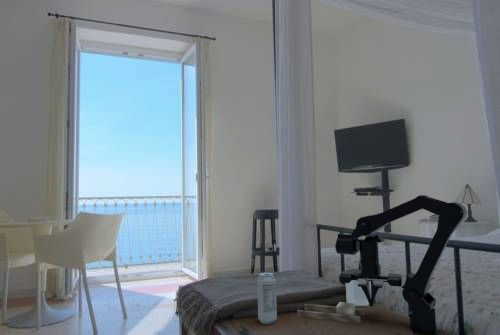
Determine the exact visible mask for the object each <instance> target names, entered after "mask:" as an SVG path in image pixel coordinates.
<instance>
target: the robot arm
mask: <svg viewBox="0 0 500 335" xmlns="http://www.w3.org/2000/svg"><path fill="white" fill-rule="evenodd" d="M422 210H425V211H427V212H429V213H432V214H434V215H436V216H439V217H438V219H437V226H436V231H435V232H434V235H433V237H432V239H431V241H430V244H429V246H428V247H427V250H426V252H425V254H424V256H423V258H422V260H421V263H420V265H419V267H418V269H417V270H416V272H415V273H414V272H411V273H410V274H408V275H406V278H405V282H404V284H403V280H404V279H403V275H402V274H400V273H392V272H391V273H388V275H382V269H381V268H382V267H381V264H380V259H379V258H380V257H379V256H380V255H379V243H384V242H385V238H383V237H382V236H381V234H379V233H377V232H379V231H380V230H383V228H384V227H386V226H387V225H389V224H391V223H393V222H395V221H398V220H400V219H402V218H404V217H407V216H409V215H411V214H412V215H413V214H414V213H417V212H419V211H422ZM467 215H468V214H467V209H466V207H465V206H464V205H463V203H461V202H457V201H455V202H454V201H452V202H447V201H444V200H440V199H437V198H434V197H430V196H429V195H426V194H420V195H417V196H416V197H415V198H414V197H413V199H410V200H407V201H406V202H403V203H401V204H398V205H397V206H394V207H391V208H389V209H387V210H385V211H383V212H379V213H375V214H370V215H365V216H361V217H360V218H358V219H357V220H356V226H355V228H354V229H353V231H352V232H351V233H350V234H349V233H344V232H339V233H338V234H337V238H336V242H335V246H334V247H335V251H336V253H337V254H338V255H346V256H347V255H349V256H350V255H351V256H355V255H357V253H359V260H358V269H359V270H360V271H361V275H357V274H354V272H353V271H347V270H343V271H342V272H341V273H340V274H339V276H338V278H339V280H338V282H339V283H341V284H343V283H344V284H346V283H350V282H351V281H352V280H357V281H358V287H361V288H362V290H363V292H364V293H365V295H366V297H367V300H368V302H369V306H370V307H374V305H375V301H376V298H377V294H378V291H379V289H382V288H383V287H384V283H387V284H388V285H389V286H390V287H399V288H400V287H401V289H402V291H401V294H402V297H403V299H404V301H405V302H406V303H407V304H408V306H409V309H410V312H409V325H410V326H409V327H410V329H411V331H412V333H415V334H422V335H438V330H437V329H438V328H437V321H436V317H437V316H436V308H435V306H436V303H437V299H436V298H435V297H434V296H433V295H431V293H430V292H429V290H430V288H431V287H430V286H431V279H432V275H433V274H434V271H435V269H436V268H437V266H438V263H439V262H440V259H441V258H442V255H443V253H444V251H445V249H446V247H447V245H448V243H449V240H450V239H451V236H452V235H453V234H454V232H456V230H457V229H458V228H459V227H460V226H461V224H462V222H463V221H464V220H465V218H466V217H467ZM376 233H377V234H376ZM373 234H375V235H374V236H372V235H373ZM369 235H371V236H369ZM362 237H364V238H362ZM368 281H371V282H372V283H373V284H371V292H370V282H368Z"/></svg>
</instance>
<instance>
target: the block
mask: <svg viewBox="0 0 500 335" xmlns="http://www.w3.org/2000/svg"><path fill="white" fill-rule="evenodd" d="M336 307H337V313H336V314H343V315H353V316H357V315H356V313H355V308H356V306H355V303H347V301H346V302H345V301H344V302H343V301H339V302H338V304H337V305H336Z"/></svg>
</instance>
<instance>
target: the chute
mask: <svg viewBox="0 0 500 335" xmlns="http://www.w3.org/2000/svg"><path fill="white" fill-rule="evenodd" d="M336 306H337V305H336ZM336 306H335V305H325V304H323V305H322V304H314V303H313V304H311V303H305V304H304V310H303V309H297V310H296V312H297V314H296V315H297V317H299V318H306V319H315V320H325V321H326V320H327V321H333V322H342V323H343V322H344V323H351V324H361V323H362V321H361V317H364V316H365V308H356V307H355V313H356V316H353V315H343V314H337V307H336Z"/></svg>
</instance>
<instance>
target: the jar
mask: <svg viewBox="0 0 500 335" xmlns="http://www.w3.org/2000/svg"><path fill="white" fill-rule="evenodd" d="M346 271H353V272H354V274H357V275H361V271H360V270H359V268H351V269H346ZM368 282H370V292H371V293H372V284H371V282H372V281H368ZM345 292H346V293H345V295H346V296H345V297H346V303H355V307H359V306H362V307H363V306H366V307H367V306H370V304H369V302H368V300H367V297H366V295H365V293H364V292H363V290H362V288H361V287H358V281H357V280H352V281H351V282H350V283H345Z"/></svg>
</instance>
